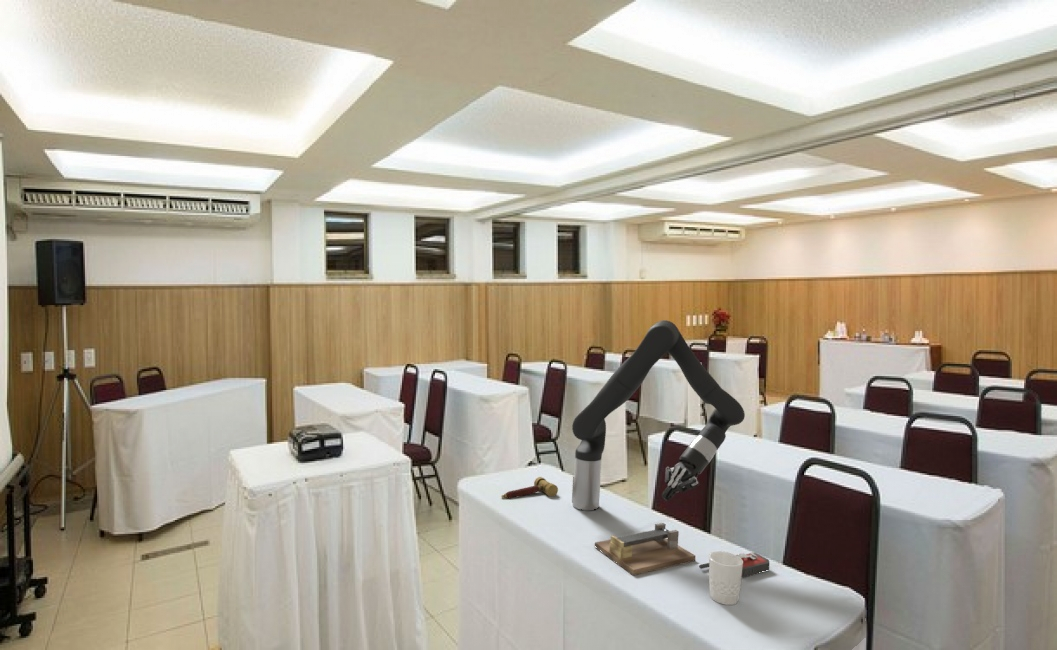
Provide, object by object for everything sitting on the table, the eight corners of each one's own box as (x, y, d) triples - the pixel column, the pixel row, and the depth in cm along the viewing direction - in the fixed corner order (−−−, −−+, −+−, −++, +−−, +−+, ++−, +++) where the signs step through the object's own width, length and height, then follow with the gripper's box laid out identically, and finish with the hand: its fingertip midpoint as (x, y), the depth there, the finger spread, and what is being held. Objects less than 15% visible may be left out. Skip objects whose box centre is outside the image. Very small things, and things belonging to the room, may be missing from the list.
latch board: (594, 547, 165) (595, 525, 164) (653, 535, 175) (654, 515, 175) (633, 575, 149) (634, 551, 148) (695, 560, 159) (696, 538, 159)
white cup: (722, 609, 134) (725, 568, 134) (700, 592, 141) (702, 553, 141) (747, 603, 137) (750, 563, 137) (724, 587, 144) (726, 549, 144)
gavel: (507, 495, 197) (495, 486, 206) (508, 507, 197) (495, 498, 206) (558, 483, 207) (544, 475, 216) (558, 495, 208) (544, 487, 216)
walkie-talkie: (748, 557, 163) (696, 569, 154) (749, 542, 163) (697, 554, 154) (774, 571, 155) (720, 585, 146) (775, 555, 155) (721, 568, 146)
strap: (615, 542, 159) (615, 536, 159) (664, 532, 167) (664, 526, 167) (623, 548, 156) (623, 541, 156) (672, 537, 164) (673, 531, 164)
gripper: (677, 441, 175) (643, 484, 170) (708, 452, 163) (673, 499, 158) (688, 456, 177) (656, 499, 172) (720, 468, 166) (686, 515, 161)
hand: (664, 499), depth 165 cm, fingers closed
